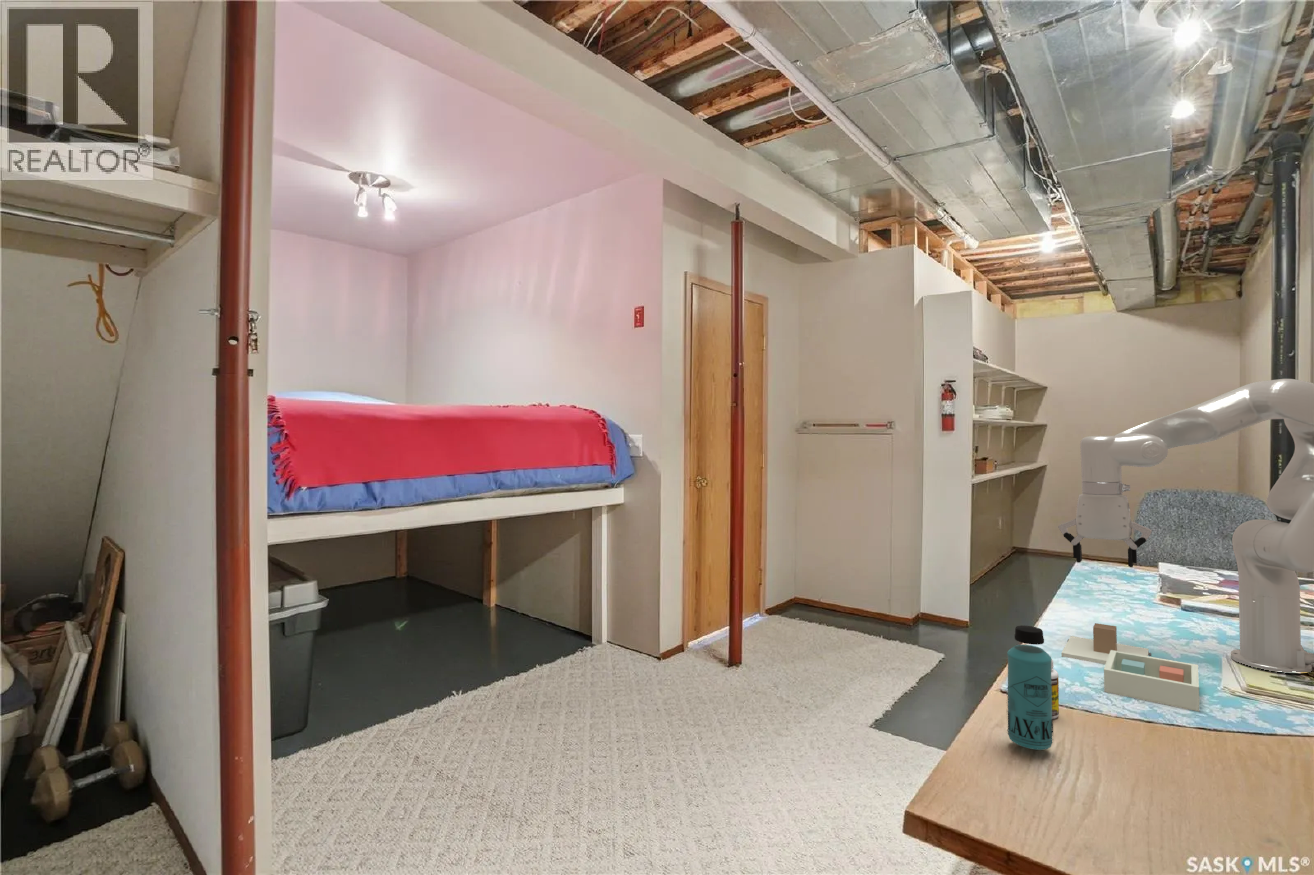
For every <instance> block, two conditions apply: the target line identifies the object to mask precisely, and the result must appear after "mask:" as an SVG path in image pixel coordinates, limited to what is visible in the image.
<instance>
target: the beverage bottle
mask: <svg viewBox="0 0 1314 875" xmlns="http://www.w3.org/2000/svg"><path fill="white" fill-rule="evenodd" d="M1014 640H1015V641H1016V642H1019V643H1022V644H1016V645H1014V646H1012V647H1011V648H1009V650H1008V651H1007V653H1006V654H1007V704H1006V706H1007V729H1006V732H1007V735H1008V738H1009V740H1010V741H1011V742H1013V743H1014V744H1016V745H1018V746H1020V747H1022V748H1026V749H1030V750H1038V751H1039V750H1040V751H1042V750H1044V751H1045V750H1048V749H1050V748H1051V747H1052V745H1053V743H1054V738H1053V734H1054V720H1053V719H1052V705H1053V704H1052V685H1051V662H1052V660H1053V658H1052V656H1051V655H1050V654H1049V653H1047V651H1046V650H1045V649H1043V648H1041V647H1038V646H1036V645H1043V644H1045V637H1044V631H1043V629H1041V628H1039V627H1036V626H1032V625H1016V627H1015V631H1014Z"/></svg>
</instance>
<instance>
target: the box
mask: <svg viewBox="0 0 1314 875" xmlns="http://www.w3.org/2000/svg"><path fill="white" fill-rule="evenodd" d="M1123 659H1127V660H1132V661H1138V662H1143V663H1145V675H1140V674H1135V673H1129V672H1124V671H1122V668H1121V664H1122V660H1123ZM1160 666H1166V667H1172V668H1177V669H1183V672H1184V683H1183V682H1177V681H1172V680H1167V679H1161V678H1159V670H1160ZM1199 677H1200V676H1199V665H1198V664H1194V663H1191V662H1190V663H1188V662H1183V661H1176V660H1170V659H1168V658H1167V659H1165V658H1161V657H1153V656H1143V655H1138V654H1132V653H1126V652H1120V651H1114V650H1111V651H1110V653H1109V656H1108V659H1107V662H1106V665H1105V664H1104V668H1103V685H1104V686H1103V688H1104V690H1103V692H1104V693H1108V694H1113V695H1118V696H1122V697H1127V698H1131V699H1135V700H1136V699H1137V700H1141V701H1144V702H1145V701H1147V702H1150V703H1155V704H1160V705H1165V706H1168V707H1169V706H1170V707H1176V708H1180V709H1184V710H1189V711H1193V712H1199V713H1200V685H1199V684H1200V682H1199V681H1200V679H1199Z"/></svg>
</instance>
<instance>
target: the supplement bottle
mask: <svg viewBox="0 0 1314 875" xmlns="http://www.w3.org/2000/svg"><path fill="white" fill-rule="evenodd" d="M1054 666H1055V665H1054V660H1053V659H1052V662H1051V685H1052V704H1053V705H1052V720H1055V719H1057V718H1058V716H1060V701H1059V699H1060V693H1059V692H1060V691H1059V688H1060V687H1059V685H1060V684H1059V682H1060V681H1059V672H1058V671H1057V670H1056V669H1055V668H1054Z"/></svg>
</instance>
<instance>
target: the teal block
mask: <svg viewBox="0 0 1314 875" xmlns="http://www.w3.org/2000/svg"><path fill="white" fill-rule="evenodd" d="M1121 668H1122V671H1124V672H1129V673H1135V674H1140V675H1145V663H1143V662H1138V661H1132V660H1127V659H1123V660H1122V664H1121Z"/></svg>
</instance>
